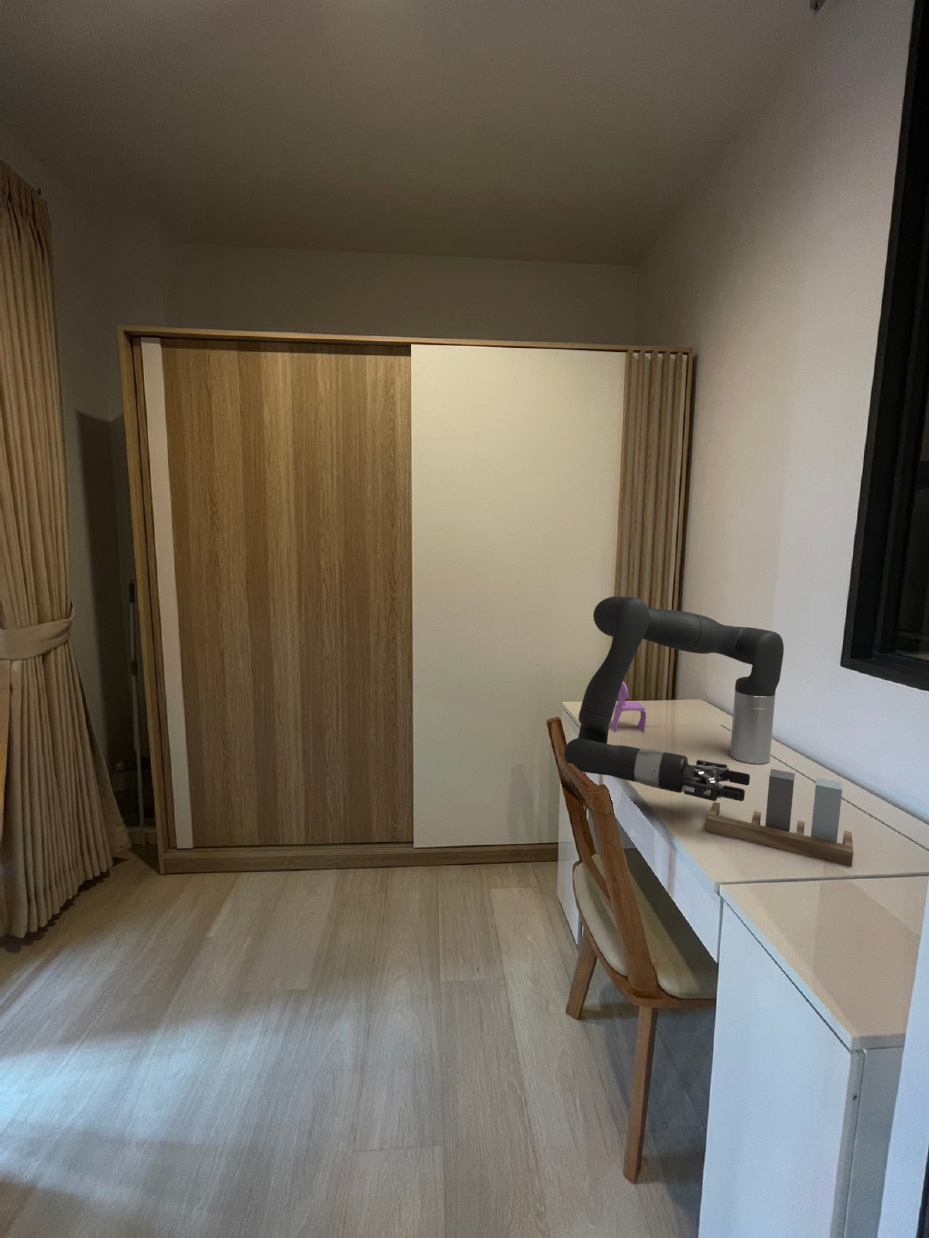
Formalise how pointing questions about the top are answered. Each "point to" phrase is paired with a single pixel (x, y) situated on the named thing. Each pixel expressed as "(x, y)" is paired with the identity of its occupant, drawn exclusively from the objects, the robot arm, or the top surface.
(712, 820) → the cable comb
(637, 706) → the toy chair
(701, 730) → the top surface
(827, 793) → the slate plug
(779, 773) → the grey tall rectangular block
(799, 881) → the top surface
